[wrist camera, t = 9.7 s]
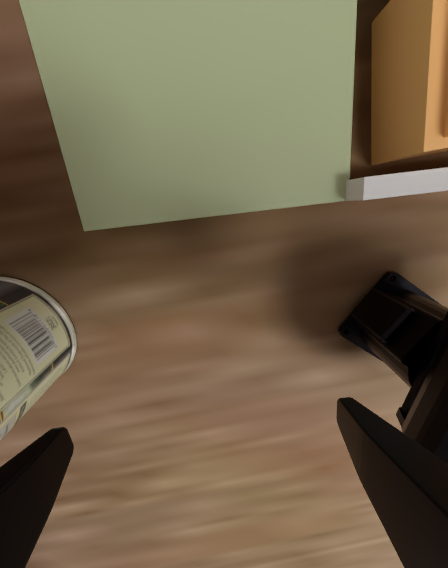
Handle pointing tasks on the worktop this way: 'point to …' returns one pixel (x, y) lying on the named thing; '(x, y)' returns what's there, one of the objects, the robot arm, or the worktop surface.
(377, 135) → the orange stepped block
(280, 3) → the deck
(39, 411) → the worktop surface
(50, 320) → the coffee can
